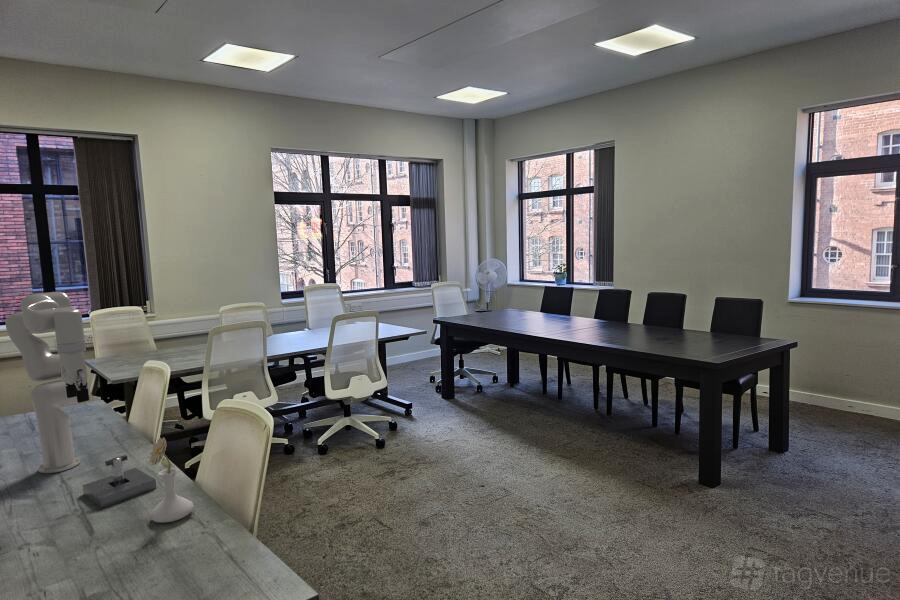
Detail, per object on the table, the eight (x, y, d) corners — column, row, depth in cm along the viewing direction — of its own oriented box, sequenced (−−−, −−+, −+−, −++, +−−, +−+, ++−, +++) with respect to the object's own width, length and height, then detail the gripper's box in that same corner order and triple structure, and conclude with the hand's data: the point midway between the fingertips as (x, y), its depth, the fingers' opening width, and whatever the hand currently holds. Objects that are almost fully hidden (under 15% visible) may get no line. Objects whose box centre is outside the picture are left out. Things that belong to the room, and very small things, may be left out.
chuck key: (108, 493, 177) (104, 460, 176) (128, 486, 182) (124, 454, 180) (111, 495, 175) (107, 463, 174) (131, 488, 180) (128, 456, 178)
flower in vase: (153, 512, 163) (143, 431, 160) (195, 503, 167) (186, 424, 164) (148, 533, 151) (138, 446, 148) (193, 523, 155) (184, 438, 152)
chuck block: (83, 494, 177) (82, 485, 177) (136, 476, 189) (135, 467, 189) (102, 507, 167) (100, 498, 167) (156, 487, 179) (155, 479, 179)
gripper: (49, 347, 179) (56, 398, 181) (67, 352, 168) (74, 406, 170) (75, 343, 185) (82, 392, 187) (94, 348, 174) (101, 400, 176)
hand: (78, 399), depth 178 cm, fingers open, 9 cm apart
